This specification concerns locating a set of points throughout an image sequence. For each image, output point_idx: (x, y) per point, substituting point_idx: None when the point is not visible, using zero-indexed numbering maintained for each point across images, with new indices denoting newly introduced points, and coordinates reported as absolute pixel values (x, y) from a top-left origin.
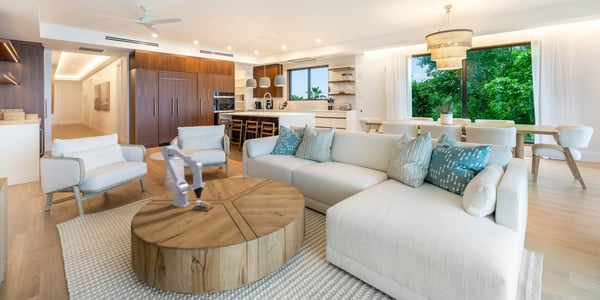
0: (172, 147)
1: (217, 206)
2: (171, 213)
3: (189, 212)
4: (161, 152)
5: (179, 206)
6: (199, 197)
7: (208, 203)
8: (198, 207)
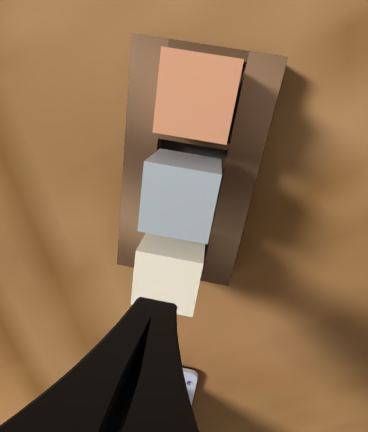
0: None
1: (62, 5)
2: (352, 402)
3: (323, 274)
4: None
5: (192, 400)
6: (169, 313)
7: (183, 86)
8: (222, 229)
